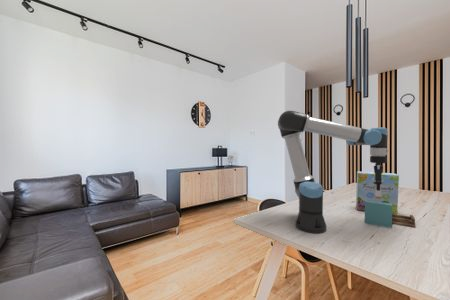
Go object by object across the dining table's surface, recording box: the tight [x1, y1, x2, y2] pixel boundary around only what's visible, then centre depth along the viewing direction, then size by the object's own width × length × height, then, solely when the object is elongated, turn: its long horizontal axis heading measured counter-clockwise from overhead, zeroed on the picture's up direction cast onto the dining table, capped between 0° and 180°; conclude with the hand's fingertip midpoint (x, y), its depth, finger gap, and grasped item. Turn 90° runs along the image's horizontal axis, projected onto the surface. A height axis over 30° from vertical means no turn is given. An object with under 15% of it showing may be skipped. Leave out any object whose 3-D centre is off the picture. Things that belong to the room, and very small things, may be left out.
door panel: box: [364, 200, 393, 229], centre depth 114 cm, size 4×12×12 cm, turn 53°
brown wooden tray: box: [392, 214, 416, 229], centre depth 118 cm, size 18×12×4 cm, turn 54°
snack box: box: [355, 171, 400, 215], centre depth 135 cm, size 22×9×26 cm, turn 62°
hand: (377, 193), depth 114 cm, fingers open, 13 cm apart
